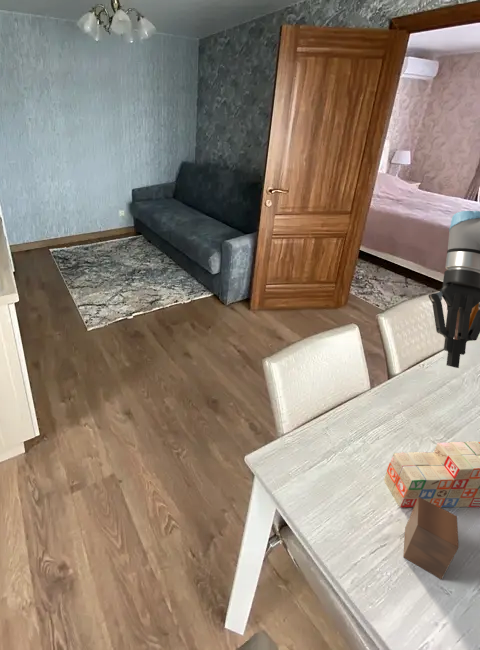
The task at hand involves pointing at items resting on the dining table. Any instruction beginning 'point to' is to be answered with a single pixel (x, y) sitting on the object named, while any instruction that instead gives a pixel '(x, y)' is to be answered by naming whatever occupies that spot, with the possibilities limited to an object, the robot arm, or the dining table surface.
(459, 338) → the robot arm
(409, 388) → the dining table surface
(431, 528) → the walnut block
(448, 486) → the stack of blocks
